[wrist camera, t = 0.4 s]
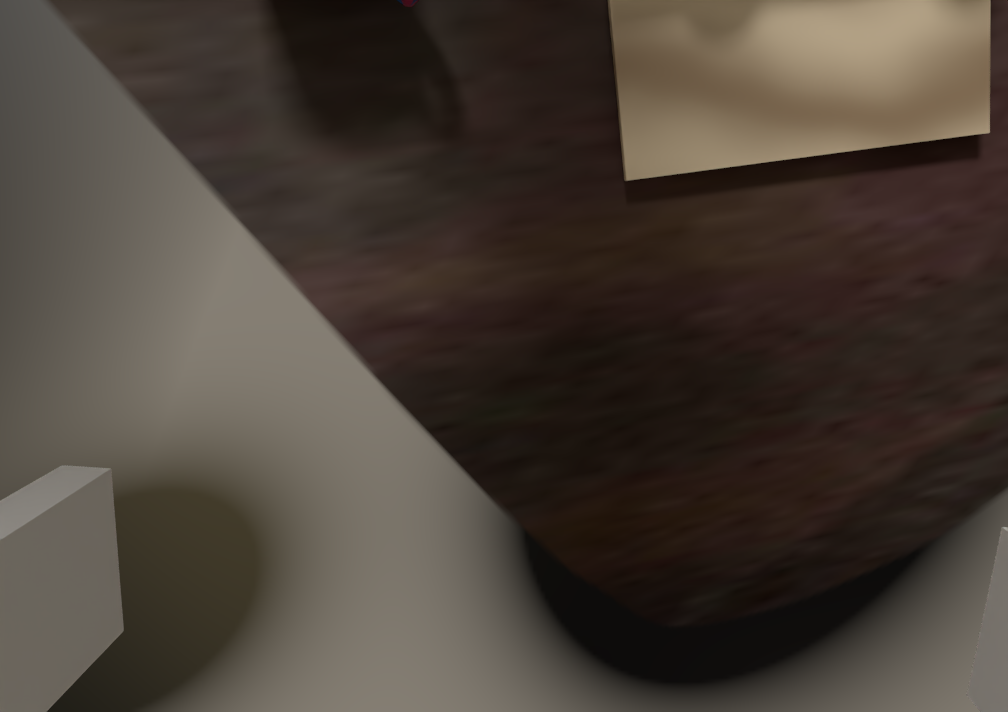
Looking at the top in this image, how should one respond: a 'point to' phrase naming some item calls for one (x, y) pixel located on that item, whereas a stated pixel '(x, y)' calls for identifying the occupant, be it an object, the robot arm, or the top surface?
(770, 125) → the press base
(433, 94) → the top surface
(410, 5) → the mug
